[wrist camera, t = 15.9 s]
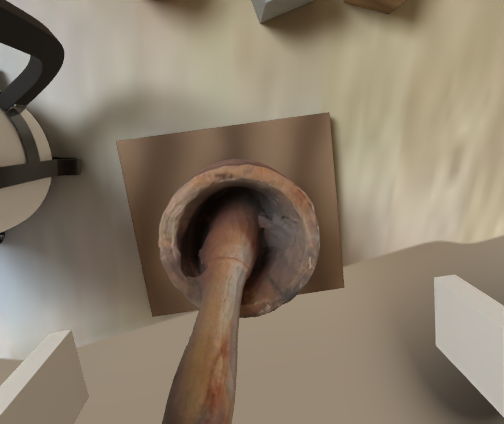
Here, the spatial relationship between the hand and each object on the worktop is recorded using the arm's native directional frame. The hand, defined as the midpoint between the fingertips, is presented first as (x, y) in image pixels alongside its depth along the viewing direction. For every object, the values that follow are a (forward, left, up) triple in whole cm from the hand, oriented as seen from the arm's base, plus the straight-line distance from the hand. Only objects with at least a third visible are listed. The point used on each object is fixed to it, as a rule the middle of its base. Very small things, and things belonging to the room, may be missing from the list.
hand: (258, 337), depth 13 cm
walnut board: (0, 0, -21) cm, 21 cm away
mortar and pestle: (0, 0, -20) cm, 20 cm away
